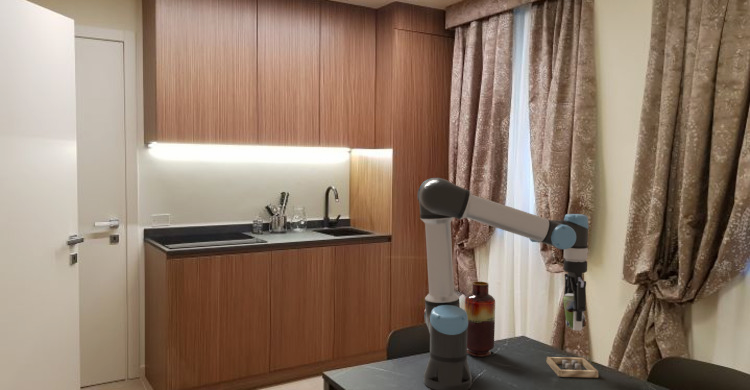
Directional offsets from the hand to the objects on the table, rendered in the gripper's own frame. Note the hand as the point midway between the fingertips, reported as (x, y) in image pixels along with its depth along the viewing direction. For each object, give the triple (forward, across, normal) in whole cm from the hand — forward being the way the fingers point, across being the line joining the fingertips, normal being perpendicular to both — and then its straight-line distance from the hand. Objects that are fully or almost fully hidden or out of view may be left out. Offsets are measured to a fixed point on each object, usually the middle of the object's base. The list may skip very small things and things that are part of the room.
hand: (573, 326), depth 182 cm
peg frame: (+15, 0, 0) cm, 15 cm away
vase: (+15, +15, +29) cm, 36 cm away
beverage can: (+1, 0, 0) cm, 1 cm away
